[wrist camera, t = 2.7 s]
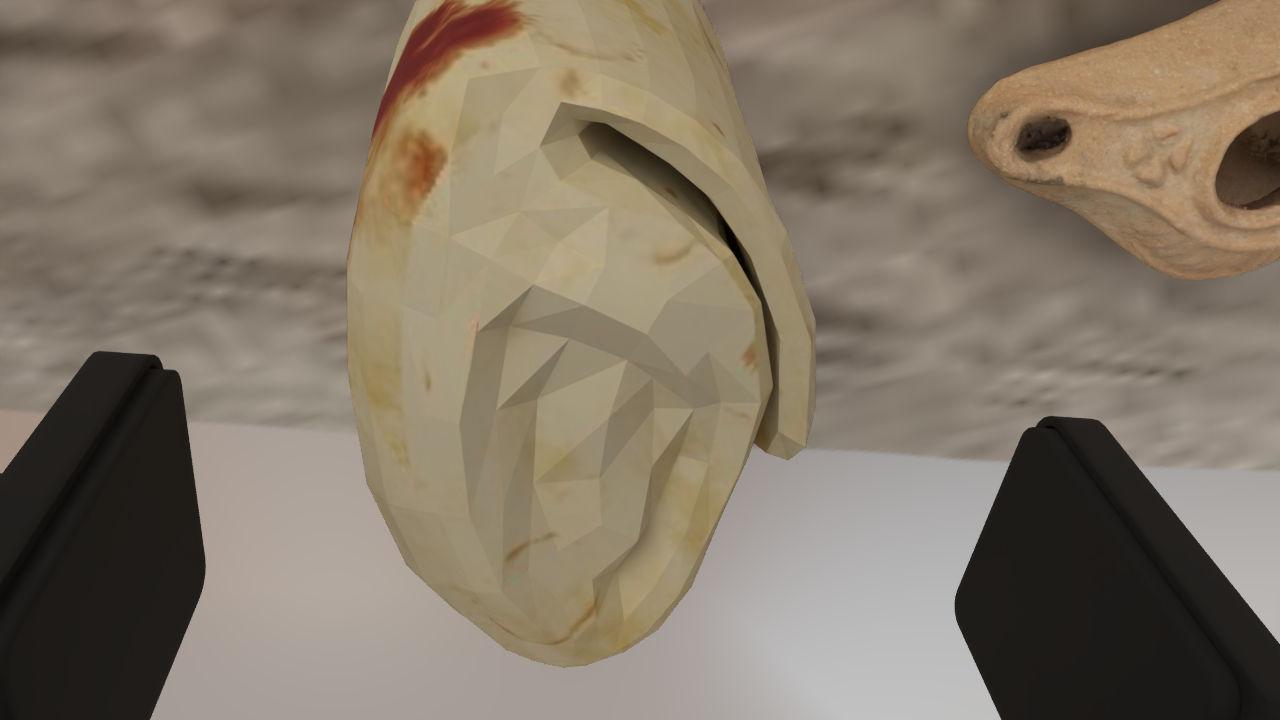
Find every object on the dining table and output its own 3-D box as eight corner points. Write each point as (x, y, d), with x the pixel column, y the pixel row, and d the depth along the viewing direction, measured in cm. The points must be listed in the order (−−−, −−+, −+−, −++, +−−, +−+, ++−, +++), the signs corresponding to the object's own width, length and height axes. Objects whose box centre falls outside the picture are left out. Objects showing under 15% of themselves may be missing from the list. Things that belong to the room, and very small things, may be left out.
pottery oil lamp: (970, -52, 27) (1218, -98, 21) (1230, 8, 33) (1484, -14, 27) (926, 264, 29) (1143, 305, 23) (1180, 269, 35) (1407, 304, 29)
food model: (413, -168, 25) (153, 50, 8) (675, -177, 25) (937, 15, 9) (460, 191, 30) (361, 769, 14) (676, 180, 31) (839, 726, 14)
